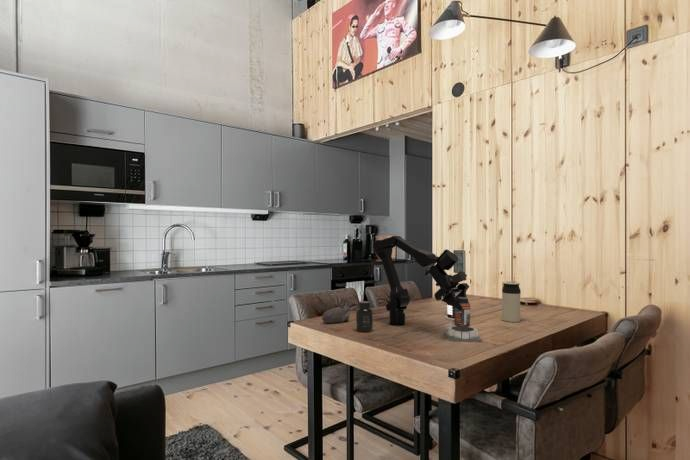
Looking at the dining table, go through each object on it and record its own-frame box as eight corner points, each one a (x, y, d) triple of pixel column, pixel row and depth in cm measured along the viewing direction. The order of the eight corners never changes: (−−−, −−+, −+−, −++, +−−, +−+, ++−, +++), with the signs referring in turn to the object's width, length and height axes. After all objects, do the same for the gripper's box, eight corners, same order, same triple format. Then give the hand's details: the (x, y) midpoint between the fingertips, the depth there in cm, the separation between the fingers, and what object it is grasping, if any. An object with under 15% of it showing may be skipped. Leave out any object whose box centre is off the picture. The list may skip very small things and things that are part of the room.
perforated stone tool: (324, 325, 181) (324, 309, 181) (319, 323, 186) (319, 307, 186) (353, 321, 189) (353, 306, 189) (347, 319, 194) (347, 304, 194)
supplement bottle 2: (451, 325, 163) (451, 296, 163) (461, 323, 167) (461, 295, 167) (463, 328, 158) (463, 299, 158) (473, 326, 162) (473, 297, 162)
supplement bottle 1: (374, 329, 175) (374, 301, 175) (370, 333, 168) (370, 303, 168) (359, 328, 177) (359, 300, 177) (354, 331, 170) (354, 302, 170)
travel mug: (501, 321, 191) (502, 282, 191) (502, 318, 198) (502, 280, 198) (520, 323, 188) (520, 283, 188) (520, 319, 195) (520, 281, 195)
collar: (449, 341, 157) (449, 332, 157) (444, 333, 169) (444, 324, 169) (481, 341, 156) (482, 332, 156) (474, 333, 168) (474, 325, 168)
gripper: (441, 266, 158) (467, 298, 151) (465, 263, 172) (490, 293, 164) (423, 284, 164) (448, 316, 156) (448, 280, 177) (471, 309, 170)
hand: (465, 308), depth 162 cm, fingers closed on supplement bottle 2, 6 cm apart
